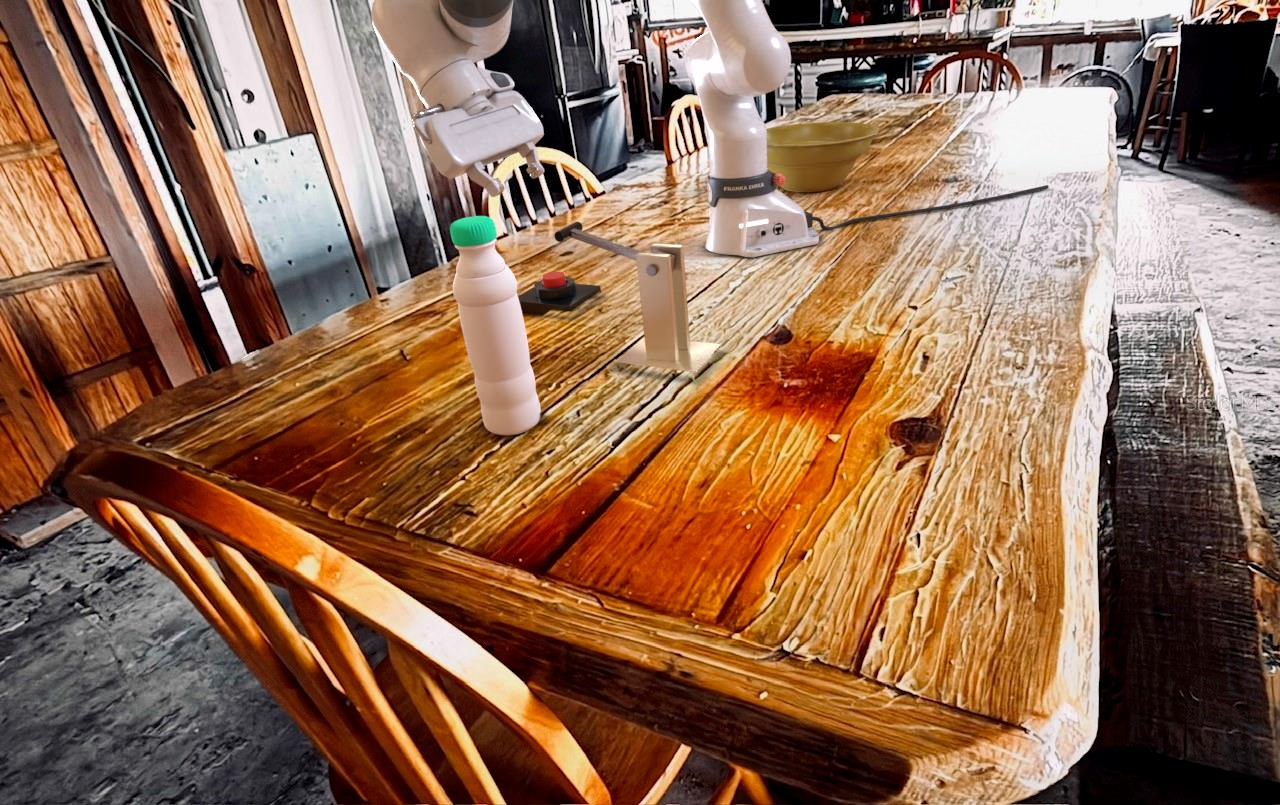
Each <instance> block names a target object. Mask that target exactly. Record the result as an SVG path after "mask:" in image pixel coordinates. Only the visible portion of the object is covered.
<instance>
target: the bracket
mask: <svg viewBox="0 0 1280 805" xmlns="http://www.w3.org/2000/svg"><path fill="white" fill-rule="evenodd" d="M656 249H657V250H660V251H663V252H666V253H669V254H652V252H654V251H655V250H656ZM684 249H685V248H684V245H683V244H668V243H667V244H665V243H652V244H651V245H649V250H650V252H649V253H648V252H645V253H639V254H637V255H636V260H637V261H636V260H635V261H636V269H637V278H638V288H639V298H640V307H641V317H642V328H643V336H642V337H641V338H640V339H639V340H638V341H637V342H636V343H635V344H634V345H632V346H631V348H629V349H628V350H627V351H625V353H623V354H622V355H621V356H620V357H619V358H618V359H617V360H615V363H620V364H627V365H628V364H629V365H638V366H645V367H652V368H659V369H667V370H675V371H682V372H689V373H697V372H698V371H699V370H700V369H701V368H702V367H703V365H704V364H706V362H707V361H708V360H709V359H710V358H711V357H712V356H713V355H714V353H716V351H717V350H718V349H719V348H720V346H721V345H722V344H720V343H711V342H703V341H702V342H701V341H692V340H691V337H690V336H691V335H690V324H689V323H690V322H689V308H688V296H687V295H688V294H687V293H688V292H687V278H686V266H685V251H684ZM670 254H672V255H675V256H676V257H675V262H674V267H673V273H672V268H671V255H670Z"/></svg>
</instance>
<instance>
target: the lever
mask: <svg viewBox="0 0 1280 805" xmlns="http://www.w3.org/2000/svg"><path fill="white" fill-rule="evenodd" d="M583 229H584V227H583V224H582V222H580V221H575V222H573V223H571V224H568V225H567V226H565V227H562V228H561V229H559V230H557V231H555V233H554V237H553V238H554V239H555V241H556V242H558V243H562V242H564V241H566V240H567V239H569V238H571V239H574V240H577V241H579V242H583V243H585V244H587V245H590V246H593V247H596V248H600V249H603V250H605V251H608V252H611V253H613V254H616V255H619V256H622V257H625V258H628V259H631V260H634V261H636V262H637V260H636V255H637V254H639V253H646V251H645V252H644V251H642V250H638V249H636V248H633V247H630V246H628V245H624V244H621V243H618V242H615V241H613V240H610V239H607V238H603V237H601V236H598V235H595V234H592V233H589V232H586V231H583ZM652 254H669V253H666V252H663V251H660V250H657V249H656V250H655V251H654V252H652ZM670 255H671V268H672V273H673V267H674V262H675V257H676V256H675V255H672V254H670Z"/></svg>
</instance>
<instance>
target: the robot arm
mask: <svg viewBox="0 0 1280 805" xmlns="http://www.w3.org/2000/svg"><path fill="white" fill-rule="evenodd" d="M690 1H691V3H692V4H693V6H694V7H695V8H696V9H697V10H698V12H699V13H700V15H701V17H702V18H703V21H704V23H705V25H706V27H707V30H708V31H707V32H706V33H704V34H702V35H700V36H699V37H697V38H696V39H695V40H693V42H692V43H691V44H690V46H689V48H688V49H687V51H686V54H685V60H684V61H685V62H684V66H685V71H686V75H687V77H688V79H689V81H690V83H691V84H692V85H693V87H694V89H695V92H696V95H697V98H698V102H699V105H700V110H701V113H702V117H703V120H704V124H705V125H704V126H705V130H706V136H707V149H708V150H707V151H708V167H709V174H708V175H707V183H706V186H707V201H708V203H709V212H708V213H709V220H708V221H709V222H708V230H707V236H706V241H705V244H704V247H705V249H706V250H707V251H709V252H711V253H714V254H720V255H728V256H740V257H743V258H744V257H745V258H757V257H762V256H766V255H767V256H768V255H772V254H776V253H781V252H785V251H790V250H795V249H800V248H805V247H810V246H815V245H817V244H819V243H820V236H819V233H818V232H817V231H816V230H815V229H813V224H814V223H813V221H814V222H815V221H816V222H817V223H818V224H819V226H820V228H821V229H822V230H824V231H830V230H834V229H839V228H843V227H846V226H848V225H851V224H854V223H859V222H865V221H873V220H879V219H886V218H894V217H901V216H908V215H909V216H910V215H915V214H922V213H928V212H934V211H935V212H936V211H942V210H947V209H954V208H960V207H966V206H973V205H976V204H982V203H988V202H992V201H993V202H994V201H998V200H1003V199H1007V198H1011V197H1016V196H1021V195H1026V194H1030V193H1034V192H1039V191H1043V190H1044V191H1045V190H1047V189H1049V188H1050V186H1049V185H1048V184H1046V185H1042V186H1037V187H1034V188H1033V187H1032V188H1028V189H1024V190H1020V191H1019V190H1018V191H1015V192H1010V193H1005V194H1000V195H995V196H991V197H990V196H989V197H985V198H984V197H983V198H980V199H974V200H968V201H963V202H957V203H951V204H945V205H938V206H932V207H931V206H930V207H926V208H925V207H924V208H919V209H912V210H911V209H910V210H904V211H898V212H897V211H896V212H890V213H884V214H876V215H869V216H868V215H867V216H862V217H855V218H851V219H849V220H846V221H844V222H842V223H839V224H837V225H834V226H827V225H825V224H824V220H823V219H822V218H820V217H819V216H814V214H813V213H811V212H809V211H807V210H804V209H803V207H802V206H801V205H799V204H798V203H797V202H796V201H794V200H793V199H792V198H791V197H789V196H788V195H787V194H785V193H783V192H782V191H780V190H779V189H777V187H781V185H783V184H784V182H785V181H784V180H786V179H784V178H785V177H783V175H781V174H779V173H777V174H776V173H774V172H772V171H770V170H768V168H767V130H766V129H767V126H766V124H765V122H764V121H763V119H762V118H761V116H760V114H759V112H758V108H757V106H756V102H755V99H754V98H755V97H759V96H762V95H766V94H768V93H771V92H774V91H776V90H777V89H779V88H780V86H782V85H783V84H784V82H785V81H786V79H787V78H788V76H789V73H790V69H791V65H792V64H791V63H792V55H791V54H792V53H791V49H790V46H789V43H788V42H787V40H786V38H785V37H783V35H782V34H781V33H780V32H779V31H778V30H777V29H776V28H775V26H774V24H773V23H772V20H771V18H770V16H769V15H768V12H767V10H766V7H765V5H764V3H763V0H690ZM513 6H514V0H374V1H373V3H372V7H371V13H370V15H371V17H370V18H371V23H372V26H373V27H372V28H373V29H374V32H375V34H376V36H377V37H378V39H379V41H380V42H381V44H382V45H383V48H384V49H385V51H386V52H387V54H388V55H389V57H390V58H391V60H392V61H393V62H394V64H395V65H396V67H397V68H398V70H399V71H400V72H401V73H402V74H403V75H404V76H405V77H407V78H408V79H409V80H410V82H411V83H412V84H413V86H414V88H415V90H416V91H415V92H416V94H417V95H418V97H419V99H420V101H421V102H422V103H423V104H424V106H425V108H424V109H418V110H416V111H415V112H414V115H413V117H412V127H413V129H414V130H415V132H416V133H417V134H418V136H419V137H420V140H421V143H422V144H423V147H424V149H425V150H426V153H427V154H428V156H429V158H430V159H431V161H432V163H433V164H434V166H435V167H436V169H437V171H438V172H439V173H440V174H441V175H442V176H444V177H445V178H448V179H449V180H452V179H455V178H458V177H460V176H462V175H464V174H466V175H467V177H469V179H470V180H471V181H472V182H474V183H476V185H479V186H480V187H482V188H484V189H485V191H486V192H487V193H488V195H489V196H490V197H491V198H495V197H497V196H500V195H501V194H502V193H503V192H504V191H505V186H504V184H503V183H502V181H501V180H500V178H498V177H495V178H494V177H492V175H490V174H489V173H487V171H485V169H486V166H488V165H490V164H492V163H495V162H498V161H500V160H503V159H505V158H508V157H510V156H513V155H516V154H519V155H520V157H521V158H522V159H524V158H525V161H526V164H527V166H528V167H527V168H526V169H525V171H526V172H527V174H529V177H530V178H531V179H533V180H534V179H536V178H537V179H538V178H539V177H541V176H542V175H543V174H544V173H545V168H544V167H543V165H542V163H541V162H540V159H539V154H538V150H537V146H536V144H537V143H538V142H539V141H540V140H541V139H542V138H543V137H544V135H545V133H544V126H543V123H542V122H541V120H540V119H539V117H538V116H537V114H536V113H535V111H534V110H533V107H531V106H530V103H528V102H527V100H526V99H525V97H523V95H522V94H520V93H519V91H516V90H513V89H514V87H515V81H514V80H513V78H512V77H511V76H510V75H509V74H508V73H504V72H498V71H493V70H489V69H486V68H484V67H483V68H482V67H479V66H478V67H477V66H476V64H477V63H478V62H481V61H483V60H486V59H488V58H490V57H492V56H494V55H496V54H498V53H499V52H500V51H501V50H502V49H503V48H504V46H505V45H506V43H507V41H508V39H509V35H510V32H511V25H512V18H513V16H512V15H513V14H512V13H513Z"/></svg>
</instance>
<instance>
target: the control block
mask: <svg viewBox="0 0 1280 805" xmlns="http://www.w3.org/2000/svg"><path fill="white" fill-rule="evenodd" d="M565 278H566V284H565V285H562V286H559V287H553V288H547V287H543V283H542V279H540V280H538V281H537V282H535V283H534V285H533V287H531V288H530V289H528V290H526V291H525V292H523V293H521V294H520V295H518V299H519V302H520V306H521V310H522V314H523V315H525V314H526V315H536V316H545V315H546V314H548V313H549V312H552V310H553V311H563V312H572V311H574V310H576V308H579V307H580V306H581V305H583V304H584V303H585V302H587V301H588V300H590V299H591V298H593V297H594V296H595V295H597V294H599V293H601V292H602V288H601V285H596V284H585V283H576V280H575V278H573V277H571V276H565Z"/></svg>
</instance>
